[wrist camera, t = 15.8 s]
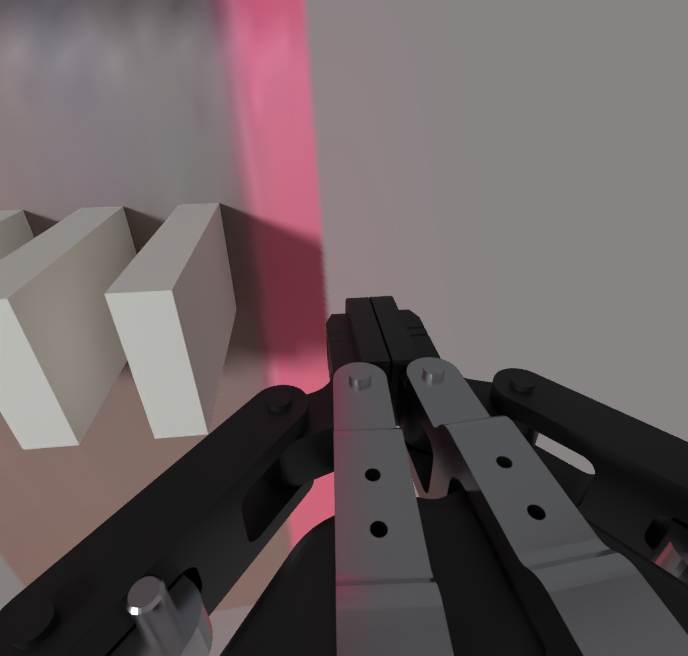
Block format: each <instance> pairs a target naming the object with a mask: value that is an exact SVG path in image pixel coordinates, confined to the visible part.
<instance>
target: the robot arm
mask: <svg viewBox="0 0 688 656" xmlns="http://www.w3.org/2000/svg"><path fill="white" fill-rule="evenodd" d="M326 334H327V360H328V369H329V377H330V382H329V383H328V384H327V385H326V386H325V387H323V388H322V389H320V390H318V391H316V392H313V393H310V394H307V395H306V394H305V393H304V392H303V391H302V390H301V389H299V388H297V387H294V386H289V385H278V386H273V387H269V388H267V389H264V390H263V391H261V392H259V393H258V394H257V395H256V396H254V397H253V398H252V399H251V400H250V401H248V402H247V403H246V404H245V405H244V406H242V407H241V408H240V409H239V410H238V411H237V412H235V413H234V414H233V415H232V416H231V417H229V418H228V419H227V420H226V421H225V422H223V423H222V424H221V425H220V426H219V427H217V428H216V429H215V430H214V431H213V432H211V433H210V434H209V435H208V436H207V437H205V438H204V439H203V440H202V441H201V442H199V443H198V444H197V445H196V446H195V447H193V448H192V449H191V450H190V451H189V452H188V453H186V454H185V455H184V456H183V457H182V458H180V459H179V460H178V461H177V462H176V463H174V464H173V465H172V466H171V467H170V468H168V469H167V470H166V471H165V472H164V473H162V474H161V475H160V476H159V477H158V478H156V479H155V480H154V481H153V482H152V483H150V484H149V485H148V486H147V487H146V488H144V489H143V490H142V491H141V492H140V493H139V494H137V495H136V496H135V497H134V498H133V499H131V500H130V501H129V502H128V503H127V504H125V505H124V506H123V507H122V508H121V509H119V510H118V511H117V512H116V513H115V514H113V515H112V516H111V517H110V518H109V519H107V520H106V521H105V522H104V523H103V524H101V525H100V526H99V527H98V528H97V529H95V530H94V531H93V532H92V533H91V534H90V535H88V536H87V537H86V538H85V539H84V540H82V541H81V542H80V543H79V544H78V545H76V546H75V547H74V548H73V549H72V550H70V551H69V552H68V553H67V554H66V555H64V556H63V557H62V558H61V559H60V560H58V561H57V562H56V563H55V564H54V565H52V566H51V567H50V568H49V569H48V570H46V571H45V572H44V573H43V574H42V575H41V576H39V577H38V578H37V579H36V580H35V581H33V582H32V583H31V584H30V585H29V586H27V587H26V588H25V589H24V590H23V591H21V592H20V593H19V594H18V595H17V596H16V597H14V598H13V599H12V600H11V601H10V602H9V603H8V604H7V605H5V606H4V607H3V608H2V609H1V611H0V656H208V655H209V652H210V649H211V646H212V639H213V631H212V625H211V622H210V619H209V616H210V614H211V613H212V612H213V611H214V609H215V608H216V607H217V606H218V604H219V603H220V602H221V601H222V599H223V598H224V597H225V596H226V594H227V593H228V592H229V591H230V589H231V588H232V587H233V586H234V584H235V583H236V582H237V581H238V579H239V578H240V577H241V576H242V574H243V573H244V572H245V571H246V569H247V568H248V567H249V566H250V564H251V563H252V562H253V561H254V559H255V558H256V557H257V556H258V554H259V553H260V552H261V551H262V549H263V548H264V547H265V546H266V544H267V543H268V542H269V541H270V539H271V538H272V537H273V536H274V534H275V533H276V532H277V531H278V529H279V528H280V527H281V526H282V524H283V523H284V522H285V521H286V519H287V518H288V517H289V516H290V514H291V513H292V512H293V511H294V509H295V508H296V507H297V506H298V504H299V503H300V502H301V501H302V499H303V498H304V497H305V496H306V494H307V493H308V492H309V491H310V489H311V488H312V485H313V482H314V479H317V478H319V477H322V476H324V475H327V474H329V473H331V472H334V490H335V515H334V516H332V517H330V518H328V519H326V520H324V521H323V522H321V523H320V524H318V525H317V526H315V527H314V528H313V529H311V530H310V531H309V532H308V533H307V534H306V535H305V536H304V537H303V538H302V539H301V540H300V541H299V542H298V543H297V544H296V546H295V547H294V548H293V550H292V551H291V552H290V554H289V555H288V557H287V558H286V560H285V561H284V563H283V564H282V566H281V567H280V568H279V570H278V571H277V573H276V574H275V576H274V577H273V579H272V580H271V582H270V583H269V584H268V586H267V587H266V589H265V590H264V592H263V593H262V595H261V596H260V598H259V599H258V601H257V602H256V603H255V605H254V606H253V608H252V609H251V611H250V612H249V614H248V615H247V617H246V618H245V619H244V621H243V622H242V624H241V626H240V627H239V628H238V630H237V631H236V633H235V634H234V635H233V637H232V638H231V640H230V641H229V643H228V644H227V646H226V647H225V649H224V650H223V652H222V653H221V655H220V656H688V442H687V441H684V440H682V439H680V438H678V437H675V436H673V435H671V434H669V433H667V432H664V431H662V430H660V429H658V428H655V427H653V426H651V425H649V424H647V423H644V422H642V421H640V420H638V419H635V418H633V417H631V416H629V415H626V414H624V413H622V412H620V411H618V410H615V409H613V408H611V407H609V406H606V405H604V404H602V403H600V402H597V401H595V400H593V399H591V398H588V397H586V396H584V395H582V394H580V393H578V392H575V391H573V390H571V389H569V388H566V387H564V386H562V385H559V384H557V383H555V382H553V381H551V380H549V379H546V378H544V377H542V376H539V375H538V374H535V373H533V372H530V371H527V370H523V369H516V368H510V369H504V370H501V371H499V372H497V373H496V375H495V376H494V378H493V382H485V381H478V380H471V379H466V378H464V377H463V376H462V375H461V373H460V372H459V370H458V369H457V368H456V367H455V366H454V365H453V364H451V363H450V362H447V361H445V360H443V359H440V356H439V354H438V352H437V350H436V349H435V347H434V345H433V343H432V341H431V339H430V337H429V336H428V334H427V331H426V329H425V328H424V325H423V323H422V322H421V320H420V318H419V317H418V316H417V315H416V314H414V313H413V312H412V311H410V310H398V308H397V305H396V303H395V301H394V299H393V297H392V296H380V297H369V298H368V297H364V298H347V299H346V314H331V316H330V318H329V319H328V321H327V323H326ZM396 426H400V428H396ZM539 433H541V434H543V435H545V436H547V437H548V438H550V439H552V440H554V441H556V442H558V443H559V444H562V445H563V446H565V447H567V448H569V449H571V450H573V451H575V452H576V453H578V454H580V455H582V456H584V457H585V458H586V459H588V460H589V461H590V462H591V464H592V465H593V467H594V469H595V474H587V473H585V472H583V471H581V470H579V469H577V468H575V467H574V466H572V465H570V464H568V463H566V462H565V461H563V460H561V459H559V458H557V457H556V456H554V455H552V454H550V453H549V452H546V451H545V450H543V449H541V448H540V447H538V446H536V445H535V443H536V440H537V437H538V434H539ZM412 479H413V480H412ZM413 482H414V484H415V487H416V489H417V492H418V494H419V497H420V498H419V497H416V495H415V490H414V485H413Z"/></svg>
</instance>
